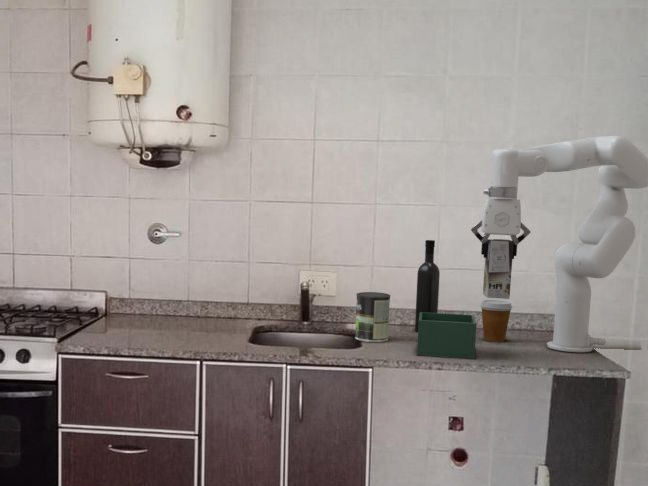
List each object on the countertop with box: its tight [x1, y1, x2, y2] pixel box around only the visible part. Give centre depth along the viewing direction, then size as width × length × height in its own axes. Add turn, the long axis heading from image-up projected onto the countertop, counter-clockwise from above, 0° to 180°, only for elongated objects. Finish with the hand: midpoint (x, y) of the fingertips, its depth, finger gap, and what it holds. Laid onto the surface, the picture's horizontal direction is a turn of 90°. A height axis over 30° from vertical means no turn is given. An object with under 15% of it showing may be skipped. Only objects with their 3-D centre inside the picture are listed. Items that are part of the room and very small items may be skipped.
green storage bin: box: [416, 312, 477, 360], centre depth 235 cm, size 16×16×10 cm
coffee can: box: [354, 291, 391, 343], centre depth 252 cm, size 10×10×14 cm
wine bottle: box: [414, 239, 441, 333], centre depth 266 cm, size 6×6×30 cm
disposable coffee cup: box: [479, 299, 513, 343], centre depth 254 cm, size 10×10×12 cm
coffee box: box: [482, 238, 514, 300], centre depth 229 cm, size 9×6×16 cm
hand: (498, 257), depth 229 cm, fingers closed on coffee box, 6 cm apart
